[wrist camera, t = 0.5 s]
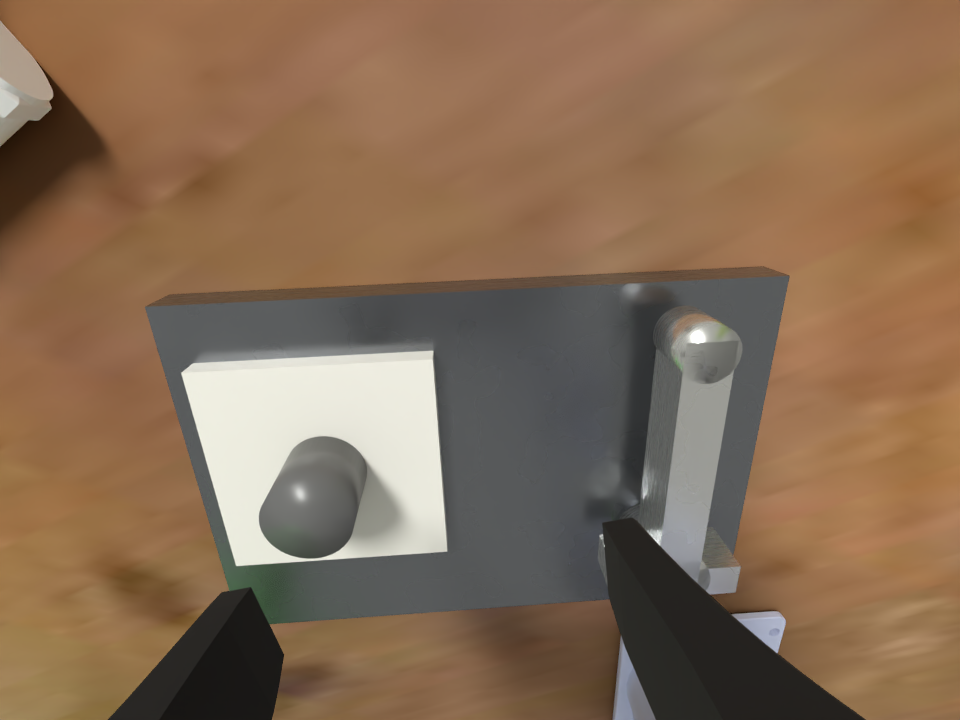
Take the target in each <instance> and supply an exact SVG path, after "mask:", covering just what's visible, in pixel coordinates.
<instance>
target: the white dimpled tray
mask: <svg viewBox="0 0 960 720" xmlns="http://www.w3.org/2000/svg"><path fill="white" fill-rule="evenodd" d="M52 98H53V90H52V88H51V86H50V84H49V82H48V80H47V78H46V76H45V74H44V73H43V71H42V69H41V68H40V66H39V65H38V63H37V62H36V60H35V59H34V58H33V56H32V55H31V54H30V53H29V52H28V51H27V50H26V49H25V48H24V47H23V45H22V44H21V43H20V42H19V41H18V40H17V39H16V38H15V37H14V36H13V34H12V33H11V32H10V31H9V30H8V29H7V28H6V27H5V26H4V24H3V23H2V22H1V21H0V146H1V145H2V144H4V143H5V142H6V141H7V140H8V139H9V138H10V137H11V136H12V135H13V134H14V133H15V132H16V131H18V130H19V129H20V128H21V127H22V126H23V125H24V124H25V123H26V122H27V121H28V120H34V121H39V120H40V119H41V118H42V117H43V116H44V115H45V114H47V113H48V112H49V111H50V110H51V109H52V107H51V105H50V102H49V101H50V100H51V99H52Z"/></svg>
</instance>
